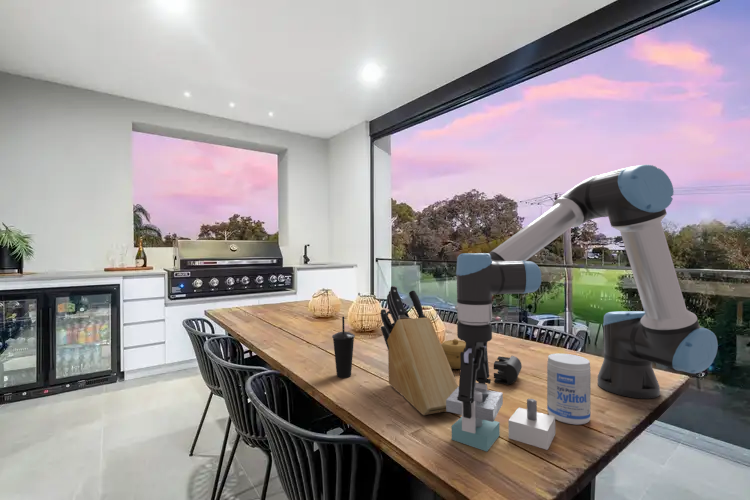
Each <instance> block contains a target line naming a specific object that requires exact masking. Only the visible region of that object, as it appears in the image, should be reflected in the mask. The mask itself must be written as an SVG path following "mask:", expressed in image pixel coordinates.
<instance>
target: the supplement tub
mask: <svg viewBox="0 0 750 500" xmlns="http://www.w3.org/2000/svg"><path fill="white" fill-rule="evenodd" d="M590 363H591V362H590V360H589V359H588V358H586V357H583V356H580V355H577V354H576V355H575V354H570V353H563V352H562V353H561V352H560V353H551V354H549V355H548V356H547V366H546V369H547V371H546V372H547V373H546V374H547V375H546V379H547V380H546V382H547V383H546V384H547V385H546V386H547V388H546V389H547V391H546V393H547V394H546V395H547V396H546V400H547V401H546V405H547V406H546V410H547V413H548V415H551V416H555V421H556V420H557V421H558V422H560V423H563V424H569V425H575V426H577V425H585V424H587V423H589V422H590V421H591V394H592V393H591V389H592V388H591V381H592V380H591V378H592V377H591V375H592V374H591V364H590Z"/></svg>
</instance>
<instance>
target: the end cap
mask: <svg viewBox="0 0 750 500" xmlns="http://www.w3.org/2000/svg"><path fill="white" fill-rule="evenodd" d="M493 370H497V372H493V381H494V383H496V384H499V385H507V386H509V385H512V384H513V383H515V381H517V379H518V377H519V375H520V373H521V370H522V362H521V360H520V359H519V358H518V357H517V356H515V355H511V356H510V357H509V356H508V357H506V356H498V357H497V359H496V360H494V363H493Z"/></svg>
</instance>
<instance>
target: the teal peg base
mask: <svg viewBox="0 0 750 500" xmlns="http://www.w3.org/2000/svg"><path fill="white" fill-rule="evenodd" d="M474 401H478V402H482V392H480V391H476V390H475V393H474ZM475 419H476V432H475V434H474V433H470V432H466V431H462V416H460V418H458V420H456V421H455V422H454V423H453V424H452V425H451V440H452V441H454V442H458V443H461V444H464V445H467V446H470V447H473V448H474V449H479V450H481V451H484V452H488V451H489V450H490V449H491V447H492V446H493V445H494V443H495V442H496V441H497V440H498V438H499V437H500V434H501V433H500V421H497V420H494V421H493V422H491V421H487V420H482V419H478V418H475Z"/></svg>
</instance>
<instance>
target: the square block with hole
mask: <svg viewBox="0 0 750 500" xmlns="http://www.w3.org/2000/svg"><path fill="white" fill-rule="evenodd" d="M475 390H476V391H480V392H482V402H478V401H475V418H478V419H482V420H487V421H491V422H493V421H496V420H495V419H496V417H497V416H498V414H499V412H500V410H501V408H502V406H503V403H504V402H503V401H504V399H503V398H504V397H503V392H501V391H495V390H490V389H487V390H485V389H480V388H475ZM458 393H459V385H458V387H457V388H456V390H455V391H454V392H453V393H452V394H451V395H450V396H449V397H448V398H447V399H446V412H448V413H452V414H457V415H461V416H462V401H458V400H457V397H458Z"/></svg>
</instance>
